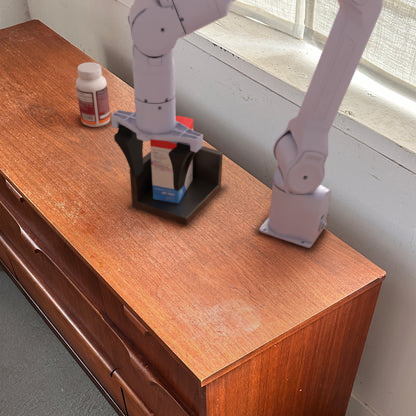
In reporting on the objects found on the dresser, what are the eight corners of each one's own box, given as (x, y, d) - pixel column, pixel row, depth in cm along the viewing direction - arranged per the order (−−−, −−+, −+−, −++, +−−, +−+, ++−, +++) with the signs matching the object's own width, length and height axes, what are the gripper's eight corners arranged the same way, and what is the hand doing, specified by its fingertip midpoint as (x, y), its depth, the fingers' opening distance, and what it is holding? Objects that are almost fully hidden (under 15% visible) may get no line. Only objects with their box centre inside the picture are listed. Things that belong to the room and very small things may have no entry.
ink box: (178, 205, 109) (177, 124, 98) (151, 199, 110) (148, 119, 99) (193, 179, 115) (194, 100, 104) (168, 175, 115) (166, 96, 104)
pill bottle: (106, 112, 134) (101, 58, 126) (113, 125, 130) (108, 71, 122) (78, 116, 132) (70, 62, 124) (84, 129, 129) (77, 75, 120)
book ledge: (221, 189, 115) (222, 151, 110) (186, 225, 108) (186, 187, 102) (169, 172, 119) (168, 135, 113) (132, 207, 111) (129, 169, 105)
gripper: (95, 93, 88) (105, 179, 98) (185, 119, 83) (186, 206, 93) (123, 74, 92) (129, 159, 102) (210, 98, 87) (208, 184, 98)
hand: (158, 180), depth 98 cm, fingers open, 7 cm apart
